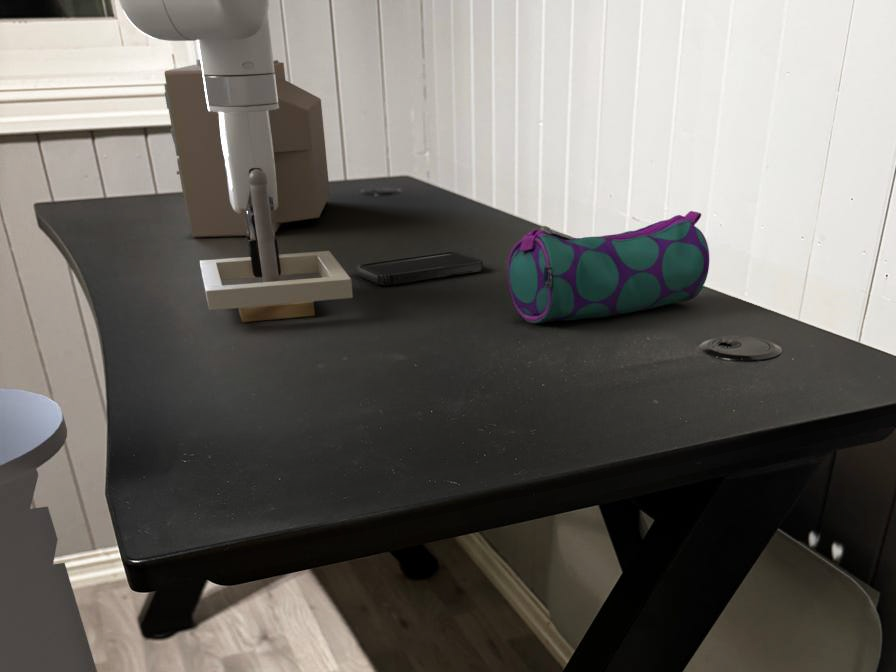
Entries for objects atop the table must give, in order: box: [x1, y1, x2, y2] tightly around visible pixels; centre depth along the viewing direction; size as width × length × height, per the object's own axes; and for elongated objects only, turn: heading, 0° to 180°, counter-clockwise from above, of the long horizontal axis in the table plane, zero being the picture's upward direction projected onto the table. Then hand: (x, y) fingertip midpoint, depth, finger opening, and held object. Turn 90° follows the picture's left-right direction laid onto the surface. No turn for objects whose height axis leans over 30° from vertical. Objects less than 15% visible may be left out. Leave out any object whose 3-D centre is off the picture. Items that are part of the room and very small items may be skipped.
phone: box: [357, 251, 484, 286], centre depth 120 cm, size 8×1×15 cm
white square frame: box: [199, 250, 354, 311], centre depth 105 cm, size 15×15×2 cm
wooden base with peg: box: [237, 169, 316, 323], centre depth 103 cm, size 8×8×14 cm
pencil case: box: [506, 210, 710, 324], centre depth 101 cm, size 21×9×10 cm, turn 115°
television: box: [163, 58, 331, 238], centre depth 147 cm, size 36×20×40 cm, turn 3°
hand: (266, 272), depth 111 cm, fingers closed on white square frame, 1 cm apart
